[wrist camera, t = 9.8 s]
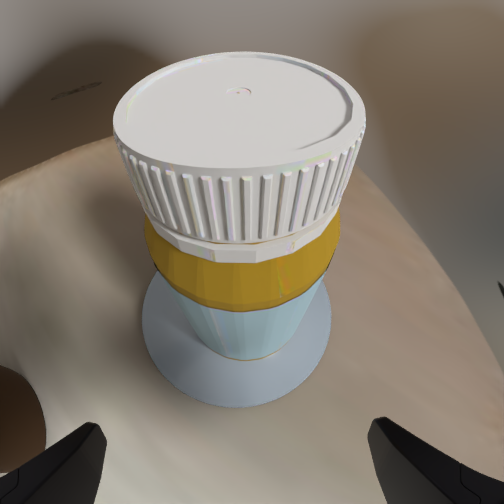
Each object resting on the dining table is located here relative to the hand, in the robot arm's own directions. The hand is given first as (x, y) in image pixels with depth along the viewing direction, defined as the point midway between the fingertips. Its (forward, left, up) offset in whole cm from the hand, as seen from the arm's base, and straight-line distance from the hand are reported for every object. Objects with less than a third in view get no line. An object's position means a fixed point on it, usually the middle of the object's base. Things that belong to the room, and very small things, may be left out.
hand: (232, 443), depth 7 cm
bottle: (+2, +8, -9) cm, 12 cm away
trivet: (+1, +8, -10) cm, 13 cm away
